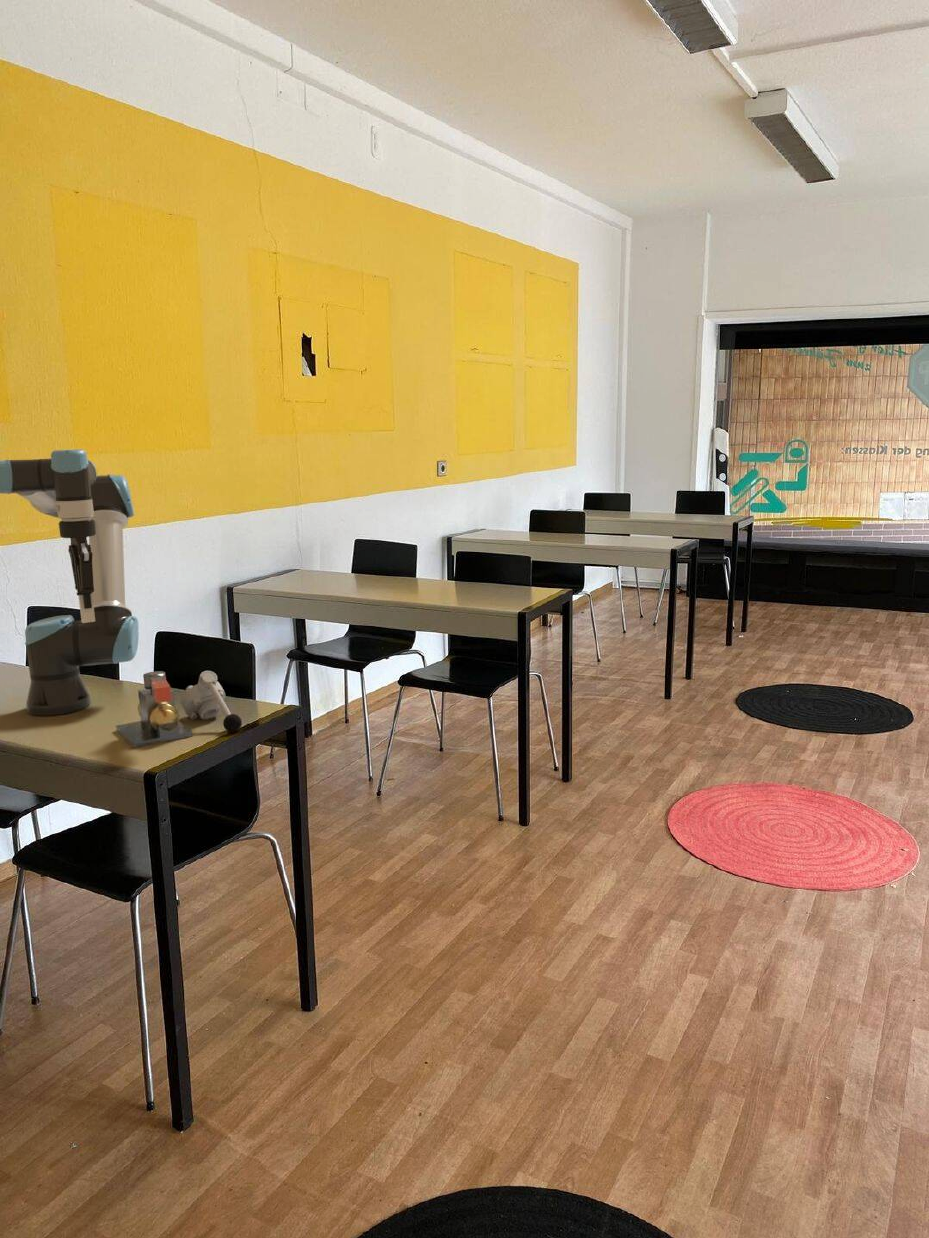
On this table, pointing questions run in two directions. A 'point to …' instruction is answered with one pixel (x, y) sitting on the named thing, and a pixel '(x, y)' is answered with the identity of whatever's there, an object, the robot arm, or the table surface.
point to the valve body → (154, 722)
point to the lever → (158, 686)
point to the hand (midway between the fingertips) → (88, 621)
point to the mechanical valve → (209, 701)
